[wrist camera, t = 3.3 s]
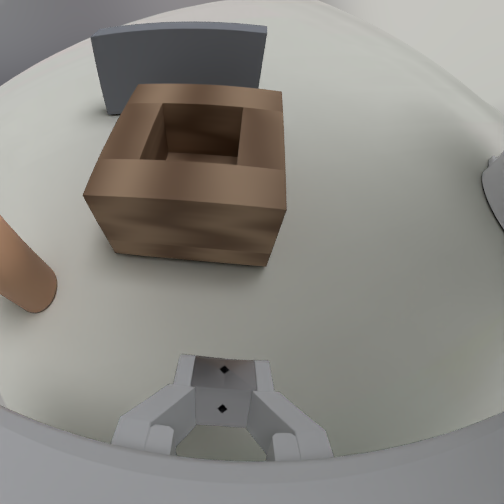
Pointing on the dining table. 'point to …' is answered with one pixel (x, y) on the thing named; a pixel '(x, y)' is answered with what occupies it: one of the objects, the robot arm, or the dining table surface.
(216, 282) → the dining table surface
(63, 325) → the dining table surface
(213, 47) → the wall
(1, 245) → the dowel
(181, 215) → the socket block
